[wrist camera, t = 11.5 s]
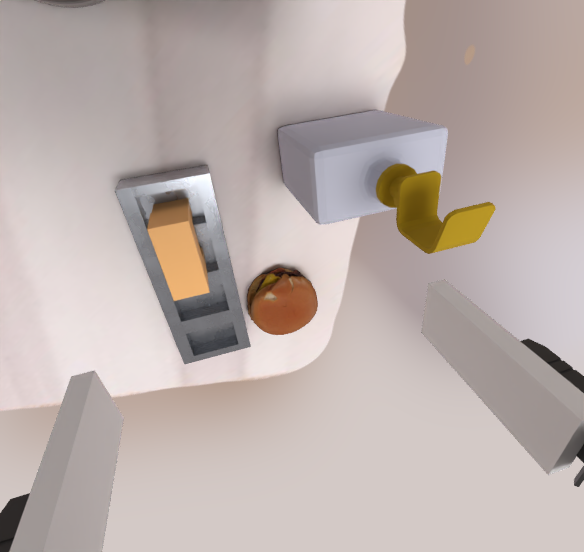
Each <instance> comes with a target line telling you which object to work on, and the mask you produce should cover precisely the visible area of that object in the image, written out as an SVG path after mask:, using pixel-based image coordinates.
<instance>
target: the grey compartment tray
mask: <svg viewBox="0 0 584 552" xmlns="http://www.w3.org/2000/svg"><path fill="white" fill-rule="evenodd" d="M115 193H116V195H117V197H118V200H119V202H120V205H121V207H122V210H123V212H124V215H125V217H126V220H127V222H128V225H129V227H130V230H131V232H132V235H133V237H134V240H135V242H136V245H137V247H138V250H139V252H140V255H141V257H142V260H143V262H144V265H145V267H146V270H147V272H148V275H149V277H150V280H151V282H152V285H153V287H154V290H155V292H156V295H157V297H158V300H159V302H160V305H161V307H162V310H163V312H164V314H165V317H166V319H167V322H168V324H169V327H170V329H171V332H172V334H173V337H174V339H175V342H176V344H177V347H178V349H179V352H180V354H181V357H182V359H183V362H184V364H188V363H192V362H195V361H199V360H203V359H206V358H210V357H214V356H218V355H221V354H225V353H229V352H232V351H236V350H240V349H244V348H247V347H251V346H250V342H249V338H248V333H247V329H246V325H245V321H244V317H243V312H242V308H241V304H240V300H239V295H238V291H237V287H236V283H235V279H234V274H233V270H232V266H231V262H230V257H229V253H228V249H227V245H226V240H225V236H224V232H223V228H222V224H221V219H220V215H219V211H218V207H217V202H216V198H215V194H214V190H213V186H212V181H211V177H210V173H209V169H208V165H204V166H198V167H192V168H187V169H181V170H175V171H169V172H164V173H158V174H152V175H147V176H141V177H135V178H129V179H124V180H120V181H119V183H118V185H117V187H116V189H115ZM185 198H188V200H189V204H190V207H191V211H192V221H193V225H194V229H195V232H196V236H197V239H198V243H199V246H200V247H202V249H203V252H204V256H205V260H206V269H207V275H208V283H209V291H210V293H206V294H201V295H197V296H193V297H189V298H185V299H181V300H176V301H174V300H173V297H172V294H171V292H170V289H169V286H168V284H167V281H166V278H165V276H164V273H163V270H162V268H161V265H160V262H159V260H158V257H157V254H156V252H155V249H154V246H153V244H152V241H151V238H150V236H149V233H148V230H147V227H148V223H149V218H150V213H152V209H153V205H154V204H159V203H164V202H169V201H175V200H180V199H185Z"/></svg>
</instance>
